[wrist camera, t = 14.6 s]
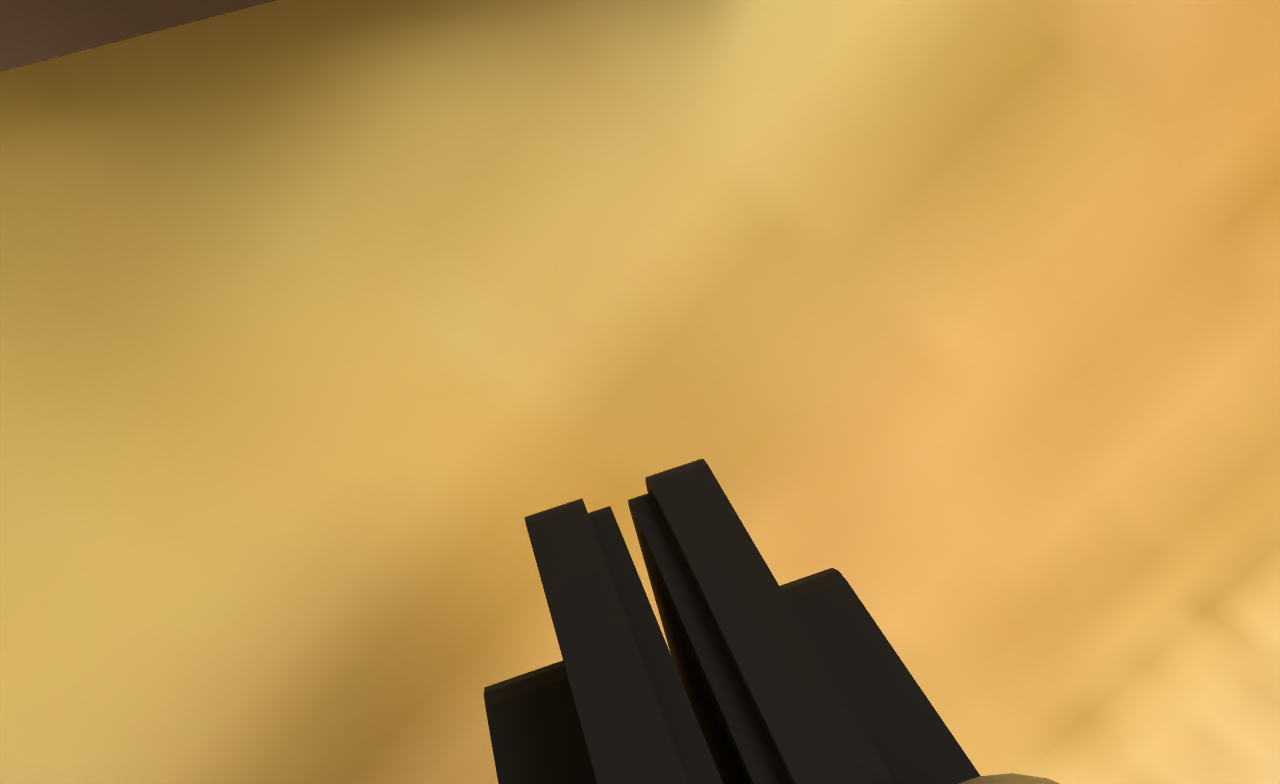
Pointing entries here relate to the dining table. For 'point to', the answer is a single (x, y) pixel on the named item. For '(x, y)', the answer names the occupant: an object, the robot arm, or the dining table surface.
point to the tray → (92, 23)
